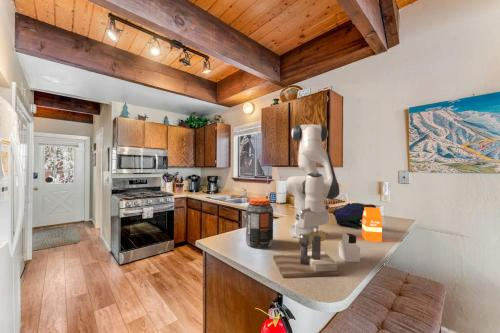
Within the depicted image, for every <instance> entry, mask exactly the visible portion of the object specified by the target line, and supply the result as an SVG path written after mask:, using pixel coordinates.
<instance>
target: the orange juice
mask: <svg viewBox="0 0 500 333" xmlns="http://www.w3.org/2000/svg"><path fill="white" fill-rule="evenodd" d="M361 225H362V227H361V229H362V232H361V234H362V236H361V237H362V238H363V239H364V240H365V242H366V241H367V242H378V243H382V240H383V238H382V237H383V216H382V213H381V208H380V207H376V208H370V207H365V208H364V212H363V219H362V223H361Z"/></svg>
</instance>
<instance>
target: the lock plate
mask: <svg viewBox="0 0 500 333" xmlns="http://www.w3.org/2000/svg"><path fill="white" fill-rule="evenodd" d="M321 242H322V241H321V237H320V236H319V235H312V244H311V248H309V247H308V246H309V245H308V246H303V245H300V254H281V255H280V254H278V255H273V257H272V258H273V261H274V262H275V264H276V267H277V269H278V271H279V273H280V275H281V277H282V278H286V279H287V278H308V277H311V278H312V277H313V278H314V277H331V276H332V277H333V276H339V277H340V275H341V274H340V271H339V270H338V262H336V261H335V260H334V259H333V258H331V256H329V255H328V254H327V253H326V252H325V251H324V250H323V249H321Z"/></svg>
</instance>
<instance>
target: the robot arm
mask: <svg viewBox="0 0 500 333" xmlns="http://www.w3.org/2000/svg"><path fill="white" fill-rule="evenodd" d="M328 136H329V130H328V127H327V126H326V125H324V124H314V123H313V124H312V123H311V124H301V125H300V124H295V125H294V126H293V127H292V129H291V138H292V140H293V141H294V142H298V143H299V142H300V143H299V146H298V156H297V157H298V160H297V162H298V164H297V165H298V167H299V169H301V171H304V172H306V173H307V174H306V175H292V176H288V178H287V180H286V183H285V184H286V185H285V186H286V188H287V190H288V191H289V192H290V193H291V194H292V195H293V196H294V198H295V201H296V215H295V219H294V221H293V222H292V224H290V227H291V228H289V229H288V230H289V233H290V236H291V237H292V238H293V237H294V238H297V239H300V234H305V233H310V232H314V231H319V228H320V226H323V225H326V224H328V223H329V220H330V211H329V210H330V205H329V204H326V203H325V199H326V200H327V199H328V200H334V199H336V198H337V197H339V195H340V185H339V182H338V179H337V176H336V173H335V169H334V165H333V162H332V159H331V156H330V154H329V152H328V151H327V150H325V148H324V146H323V143H324V142H325V141H326V140H327V139H328ZM317 163H318V164H320V165H321V166H323V168H324V172H325V175H326V178H325V176H323V174H321V173H319V170H318V167H317Z"/></svg>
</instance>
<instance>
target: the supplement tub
mask: <svg viewBox="0 0 500 333" xmlns="http://www.w3.org/2000/svg"><path fill="white" fill-rule="evenodd" d="M271 201H272V200H271V199H270V198H267V197H253V198H252V197H251V198H249V199H248V205H247V206H246V208H245V243H246V245H247V246H249V247H251V248H255V249H265V248H269V247H271V246H272V245H273V243H274V208H273V206H272V205H271V204H272V203H271Z"/></svg>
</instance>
